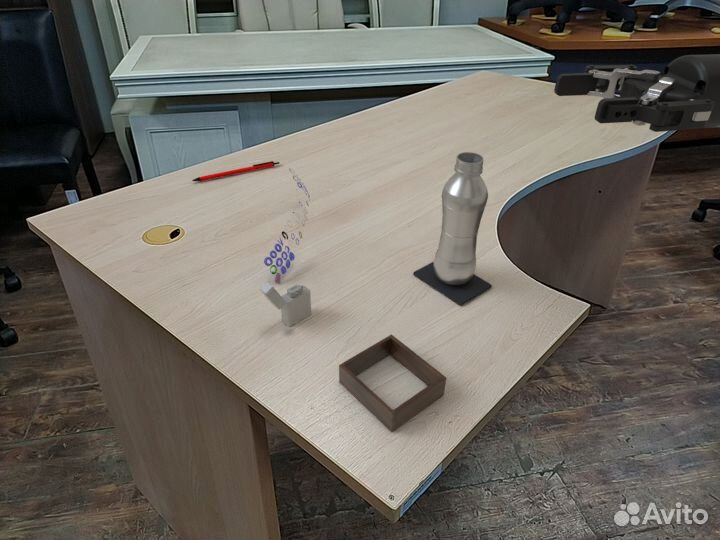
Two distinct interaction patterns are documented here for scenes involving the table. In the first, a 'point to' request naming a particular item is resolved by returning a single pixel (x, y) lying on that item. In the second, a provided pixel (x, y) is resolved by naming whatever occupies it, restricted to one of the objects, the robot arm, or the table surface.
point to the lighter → (290, 302)
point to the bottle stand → (411, 362)
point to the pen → (236, 171)
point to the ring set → (291, 255)
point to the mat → (453, 292)
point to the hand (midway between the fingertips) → (576, 97)
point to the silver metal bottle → (461, 220)
